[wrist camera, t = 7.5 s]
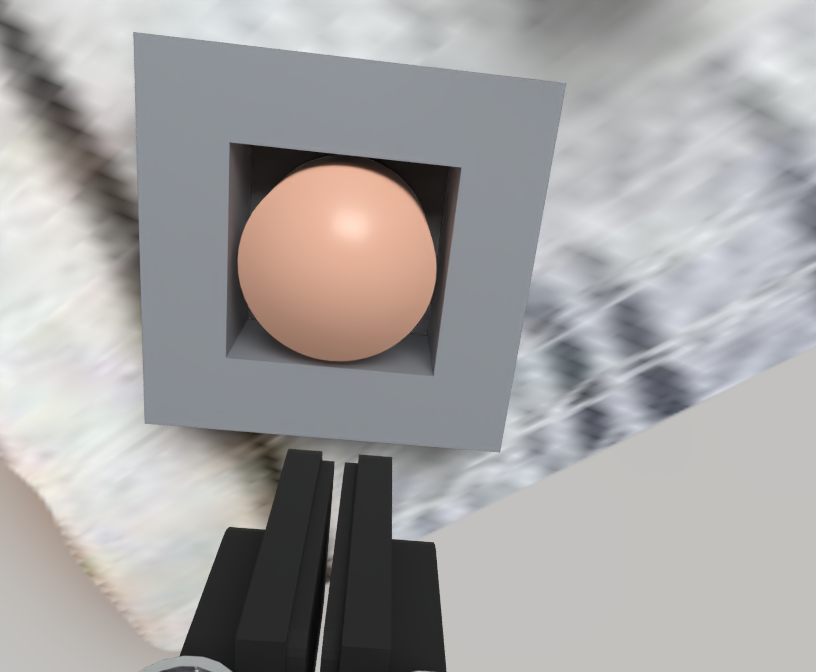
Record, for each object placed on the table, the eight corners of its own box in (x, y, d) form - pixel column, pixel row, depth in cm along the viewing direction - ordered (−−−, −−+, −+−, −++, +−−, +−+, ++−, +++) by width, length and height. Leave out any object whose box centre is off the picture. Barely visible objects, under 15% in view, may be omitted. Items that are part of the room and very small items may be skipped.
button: (439, 164, 31) (448, 180, 27) (419, 328, 34) (424, 369, 30) (262, 145, 31) (239, 158, 26) (256, 313, 34) (235, 352, 29)
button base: (538, 81, 31) (566, 83, 26) (485, 403, 36) (499, 452, 32) (173, 38, 30) (133, 32, 25) (176, 377, 35) (144, 423, 31)
